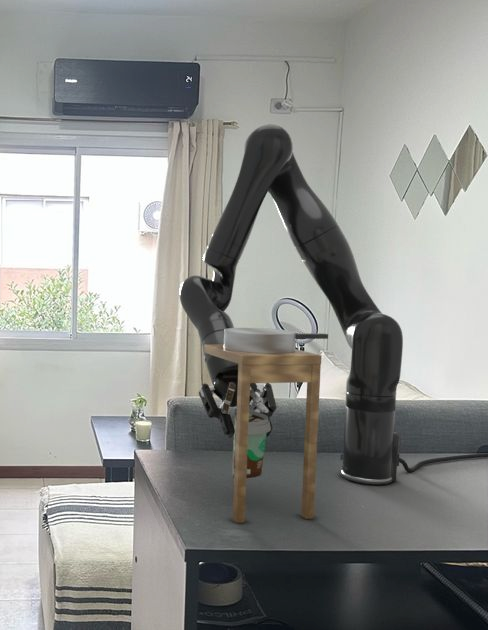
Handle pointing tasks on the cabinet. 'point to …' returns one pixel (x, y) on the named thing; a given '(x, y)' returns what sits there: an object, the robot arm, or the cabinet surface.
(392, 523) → the cabinet surface
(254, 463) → the food container
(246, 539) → the cabinet surface
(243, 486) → the pan shelf
